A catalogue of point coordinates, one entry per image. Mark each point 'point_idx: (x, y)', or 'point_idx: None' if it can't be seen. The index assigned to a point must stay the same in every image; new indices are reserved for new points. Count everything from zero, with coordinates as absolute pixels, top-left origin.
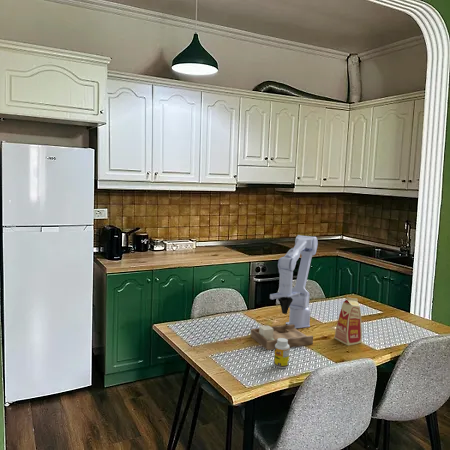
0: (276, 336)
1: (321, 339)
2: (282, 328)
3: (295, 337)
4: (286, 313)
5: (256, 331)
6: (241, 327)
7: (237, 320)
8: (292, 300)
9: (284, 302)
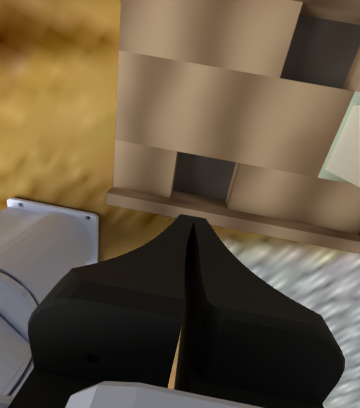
0: (298, 131)
1: (38, 18)
2: (186, 203)
3: (206, 56)
4: (183, 215)
5: (345, 233)
6: None
7: None
8: (65, 276)
9: (274, 299)
